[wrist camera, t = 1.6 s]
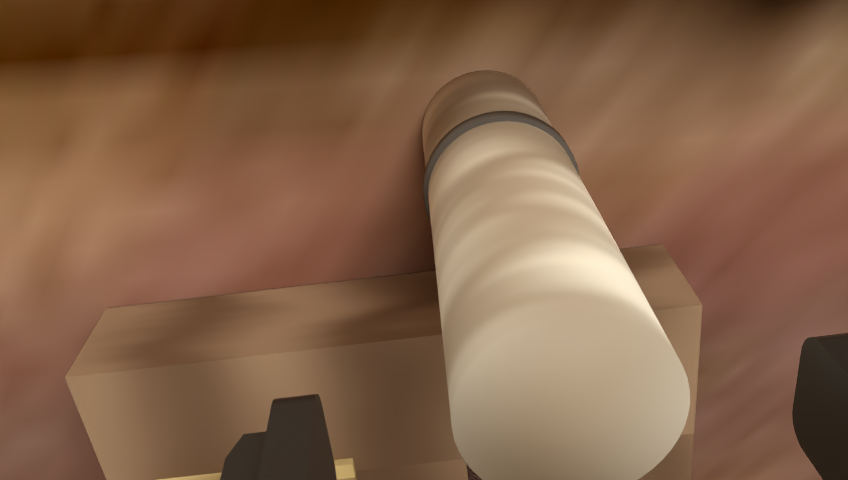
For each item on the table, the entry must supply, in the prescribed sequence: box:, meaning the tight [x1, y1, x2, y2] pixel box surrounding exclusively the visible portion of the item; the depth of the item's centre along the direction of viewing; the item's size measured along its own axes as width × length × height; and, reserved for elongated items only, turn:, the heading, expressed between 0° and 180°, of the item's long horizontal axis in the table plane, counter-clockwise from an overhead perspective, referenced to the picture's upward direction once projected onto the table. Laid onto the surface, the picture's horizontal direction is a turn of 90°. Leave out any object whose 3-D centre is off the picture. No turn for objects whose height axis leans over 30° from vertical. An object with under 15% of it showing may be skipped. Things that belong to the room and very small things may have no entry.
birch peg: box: [422, 70, 690, 480], centre depth 19 cm, size 4×4×14 cm
